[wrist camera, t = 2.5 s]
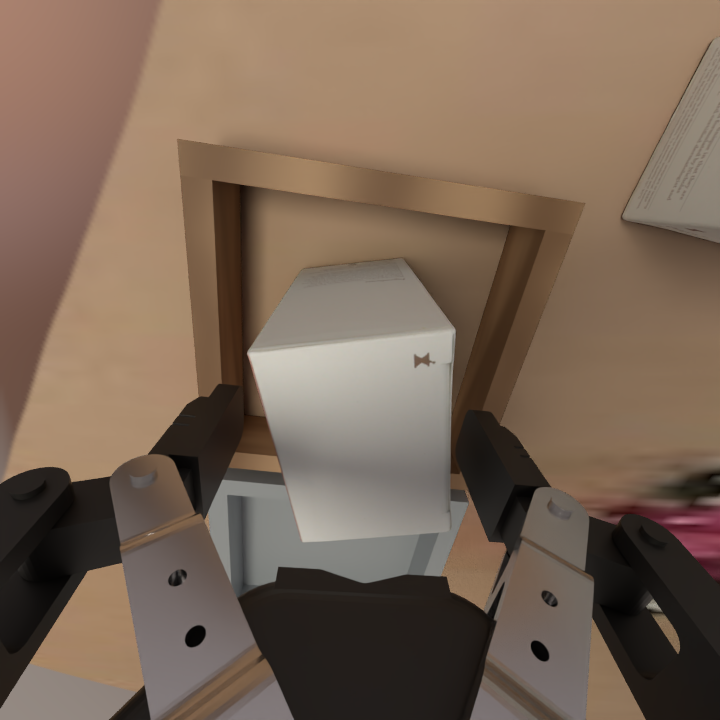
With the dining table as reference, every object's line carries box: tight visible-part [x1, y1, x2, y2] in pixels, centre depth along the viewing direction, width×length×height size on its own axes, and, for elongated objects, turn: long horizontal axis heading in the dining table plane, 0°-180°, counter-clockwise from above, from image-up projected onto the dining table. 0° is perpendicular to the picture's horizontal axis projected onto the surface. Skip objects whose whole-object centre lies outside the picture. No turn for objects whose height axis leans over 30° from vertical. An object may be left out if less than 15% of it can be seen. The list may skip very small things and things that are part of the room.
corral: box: [177, 139, 585, 491], centre depth 18 cm, size 16×16×4 cm
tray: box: [208, 468, 469, 597], centre depth 25 cm, size 16×16×4 cm
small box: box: [247, 258, 456, 542], centre depth 15 cm, size 8×6×10 cm
